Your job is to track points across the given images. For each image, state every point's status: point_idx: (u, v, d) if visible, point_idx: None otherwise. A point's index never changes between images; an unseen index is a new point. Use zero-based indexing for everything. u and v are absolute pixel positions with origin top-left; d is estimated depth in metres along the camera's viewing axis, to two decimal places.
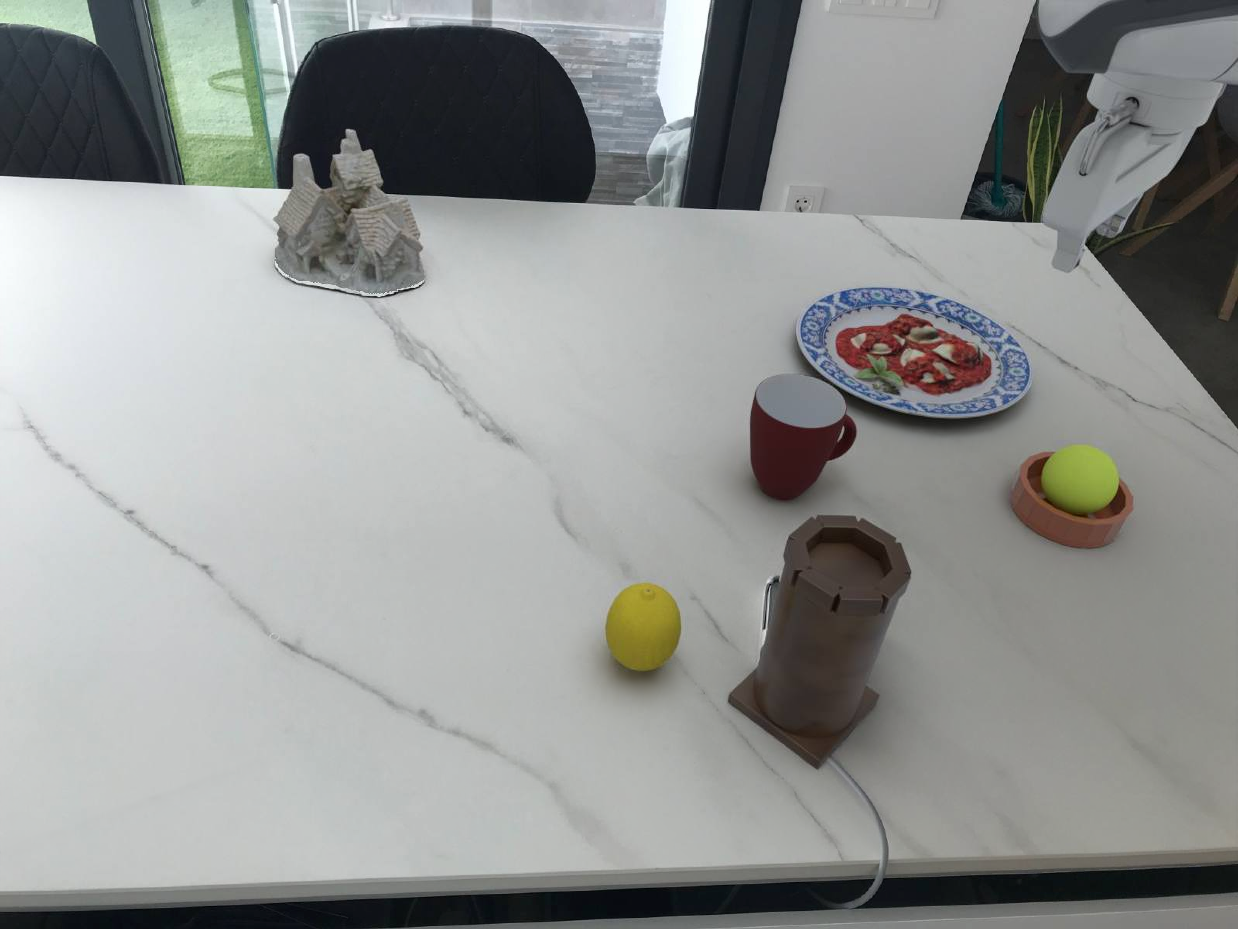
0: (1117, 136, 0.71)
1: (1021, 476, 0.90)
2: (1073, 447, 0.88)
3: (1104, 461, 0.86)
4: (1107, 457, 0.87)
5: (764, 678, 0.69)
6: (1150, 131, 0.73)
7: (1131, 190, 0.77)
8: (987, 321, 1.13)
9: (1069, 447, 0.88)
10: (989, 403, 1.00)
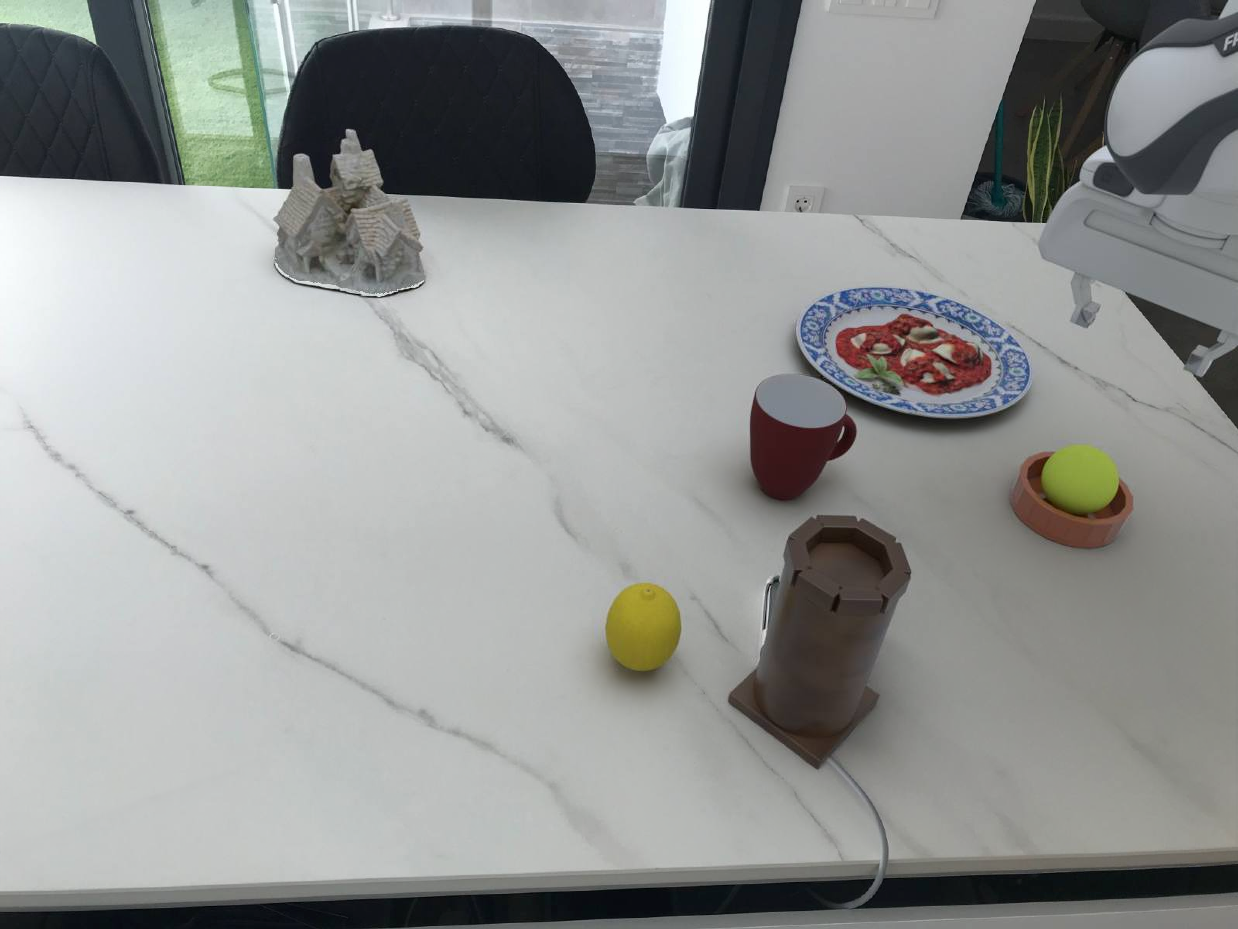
0: None
1: (1021, 476, 0.90)
2: (1073, 447, 0.88)
3: (1104, 461, 0.86)
4: (1107, 457, 0.87)
5: (764, 678, 0.69)
6: None
7: None
8: (987, 321, 1.13)
9: (1069, 447, 0.88)
10: (989, 403, 1.00)
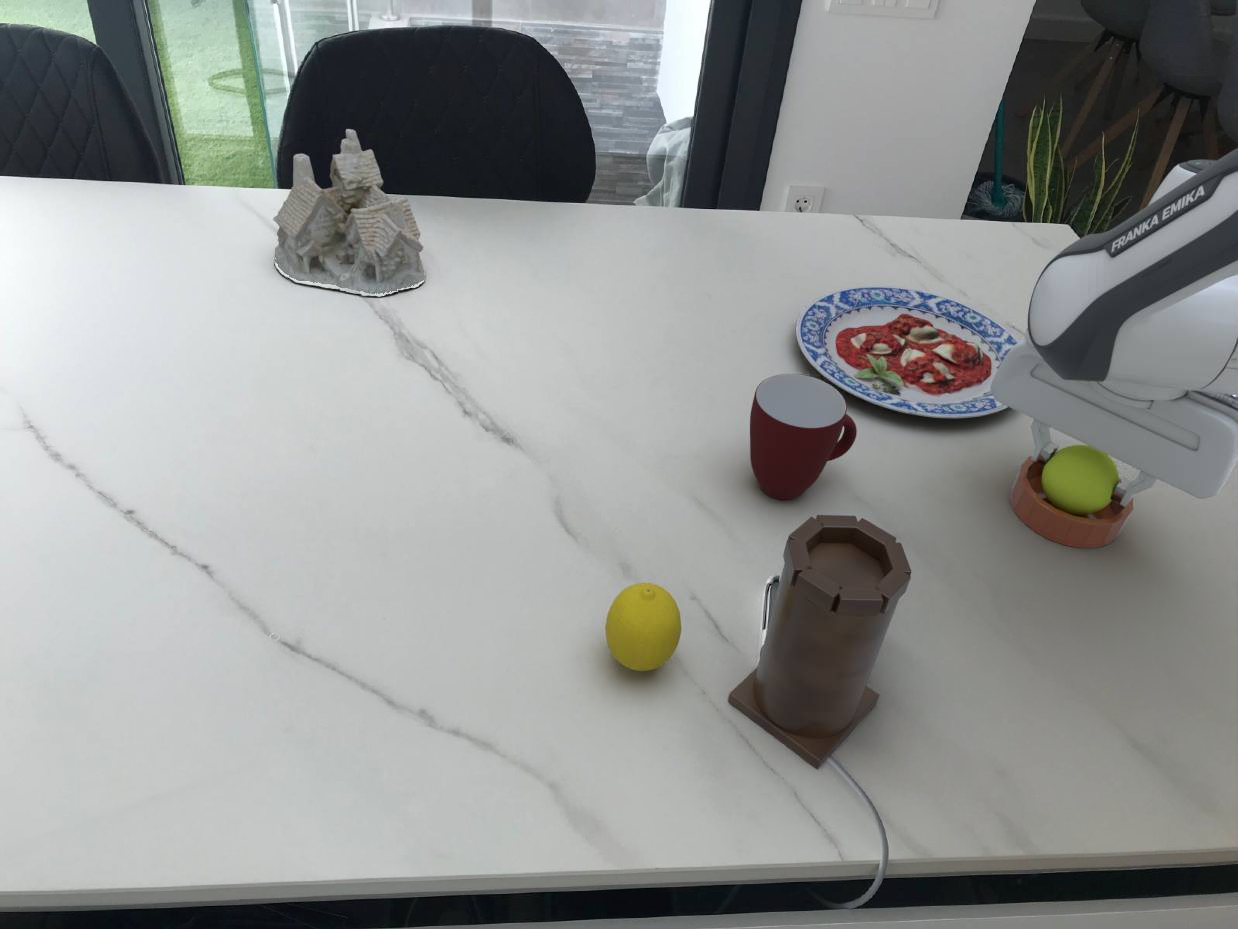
0: None
1: (1021, 476, 0.90)
2: (1073, 447, 0.88)
3: (1105, 461, 0.86)
4: (1107, 457, 0.87)
5: (764, 678, 0.69)
6: None
7: None
8: (987, 321, 1.13)
9: (1069, 447, 0.88)
10: (989, 403, 1.00)
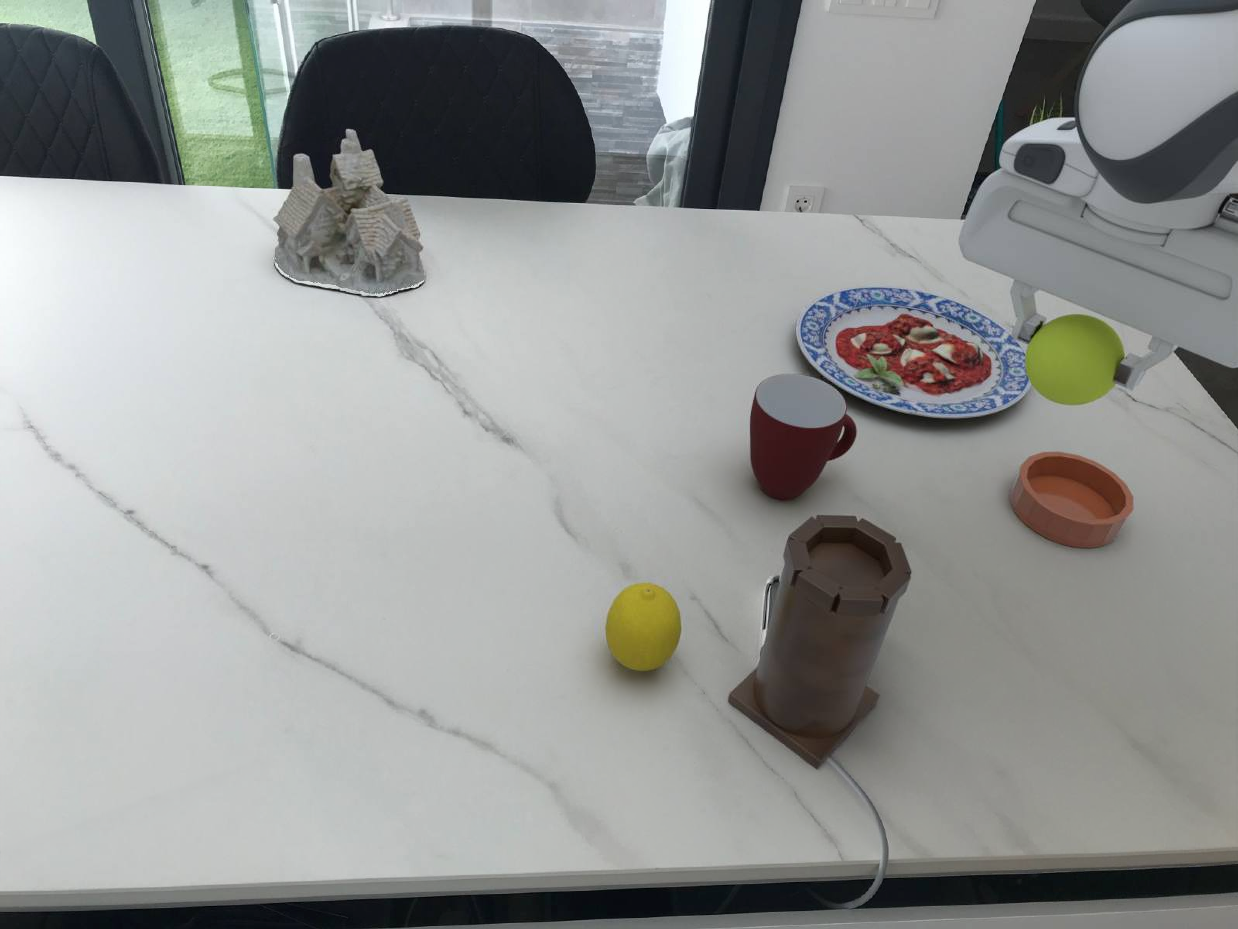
0: None
1: (1021, 476, 0.90)
2: (1065, 316, 0.68)
3: (1106, 331, 0.66)
4: (1109, 327, 0.67)
5: (764, 678, 0.69)
6: None
7: None
8: (987, 321, 1.13)
9: (1060, 317, 0.69)
10: (989, 403, 1.00)
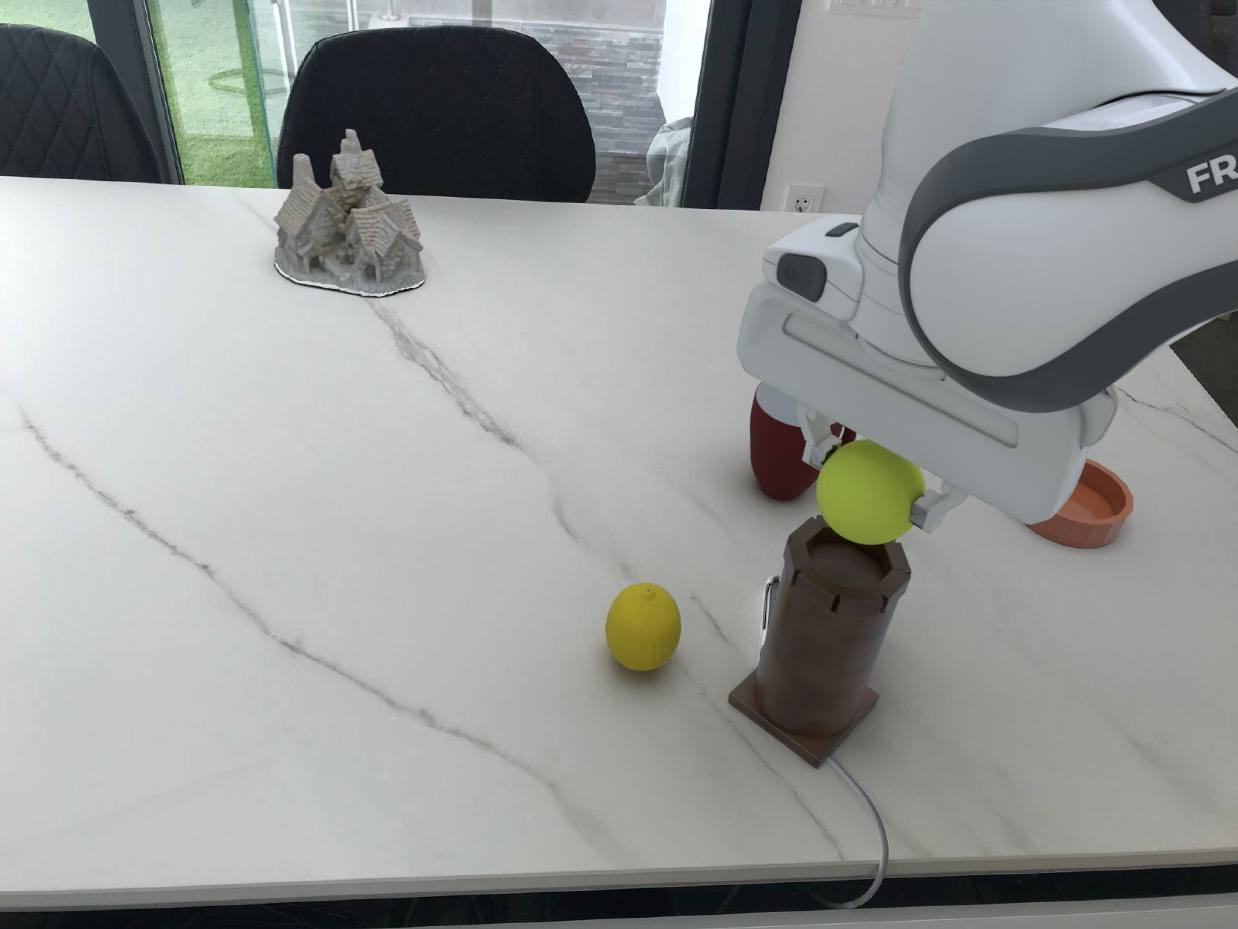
0: None
1: None
2: (858, 442, 0.58)
3: (899, 464, 0.56)
4: None
5: (764, 678, 0.69)
6: None
7: None
8: None
9: (853, 442, 0.58)
10: None
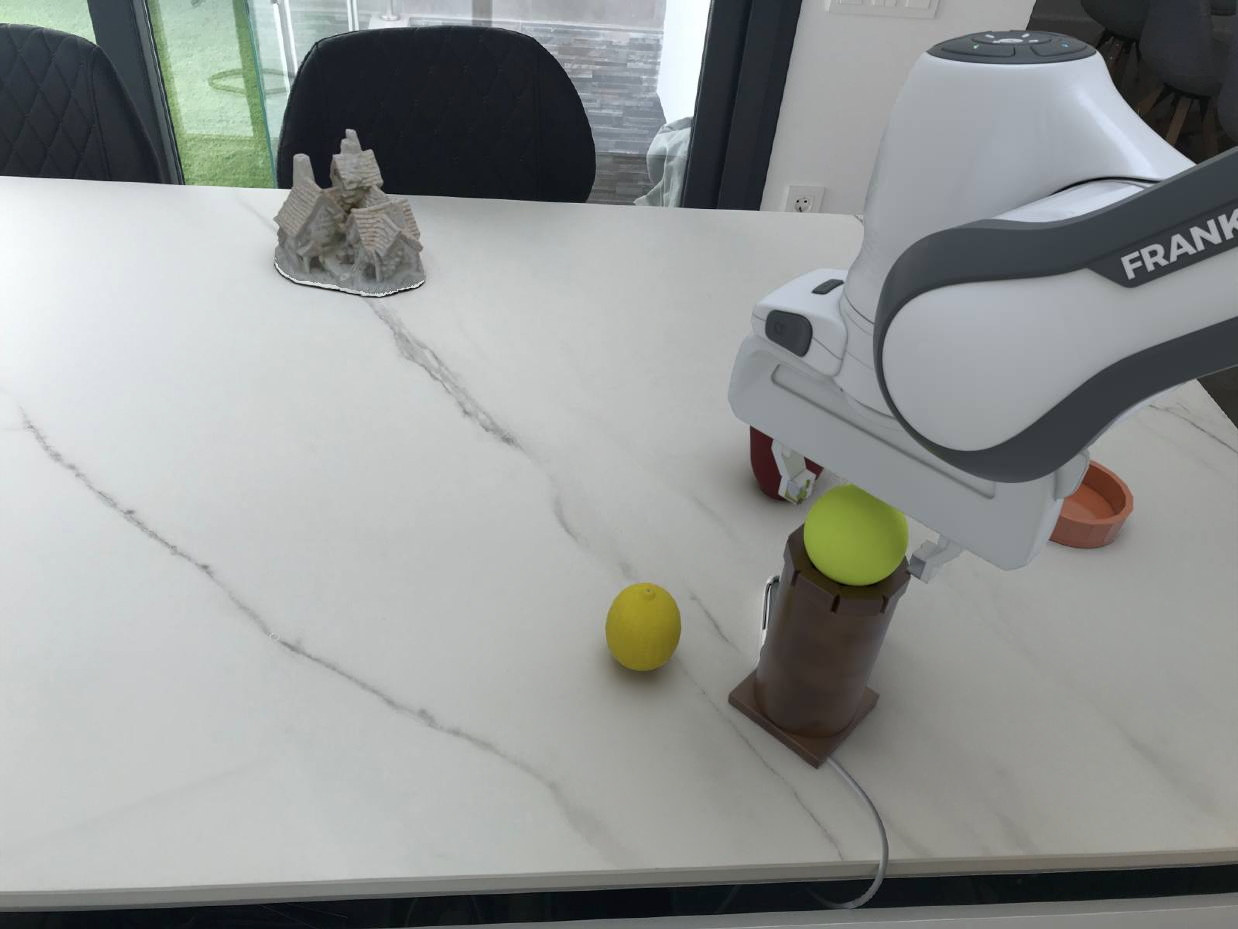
0: None
1: None
2: (843, 488, 0.60)
3: (883, 510, 0.59)
4: None
5: (764, 678, 0.69)
6: None
7: None
8: None
9: (839, 488, 0.61)
10: None
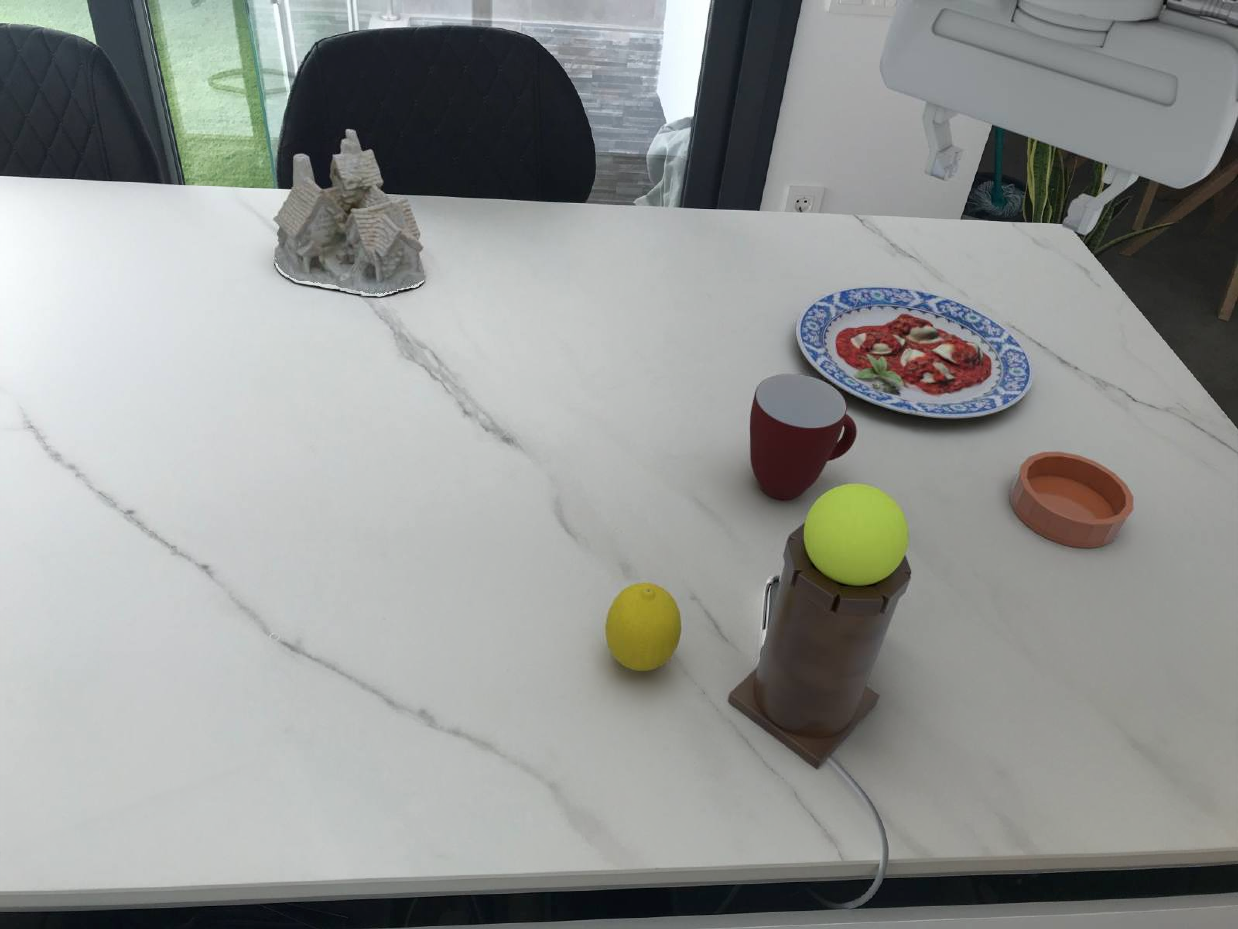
0: None
1: (1021, 476, 0.90)
2: (843, 488, 0.60)
3: (883, 510, 0.59)
4: (889, 503, 0.59)
5: (764, 678, 0.69)
6: None
7: None
8: (987, 321, 1.13)
9: (839, 488, 0.61)
10: (989, 403, 1.00)
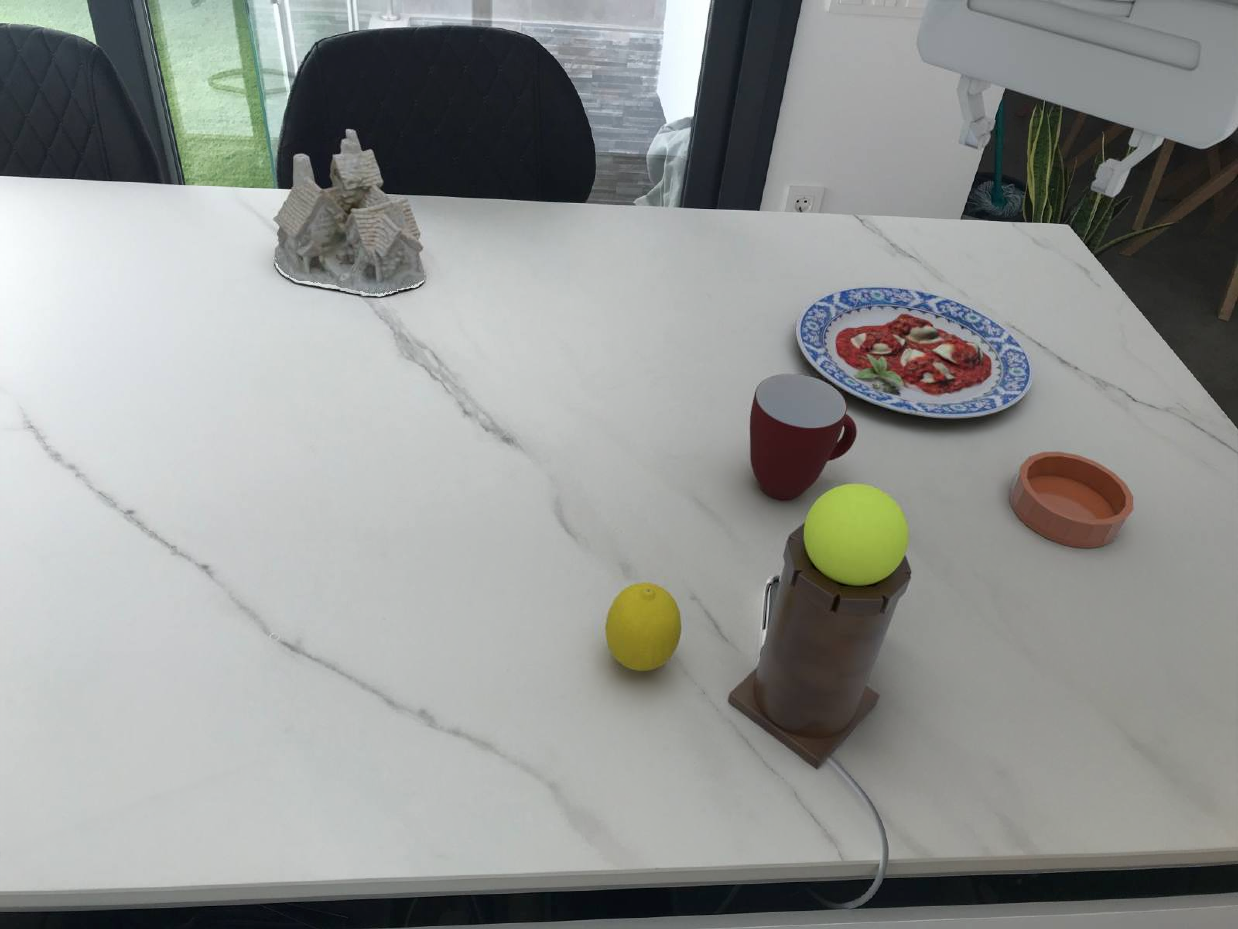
0: None
1: (1021, 476, 0.90)
2: (843, 488, 0.60)
3: (883, 510, 0.59)
4: (889, 503, 0.59)
5: (764, 678, 0.69)
6: None
7: None
8: (987, 321, 1.13)
9: (839, 488, 0.61)
10: (989, 403, 1.00)
